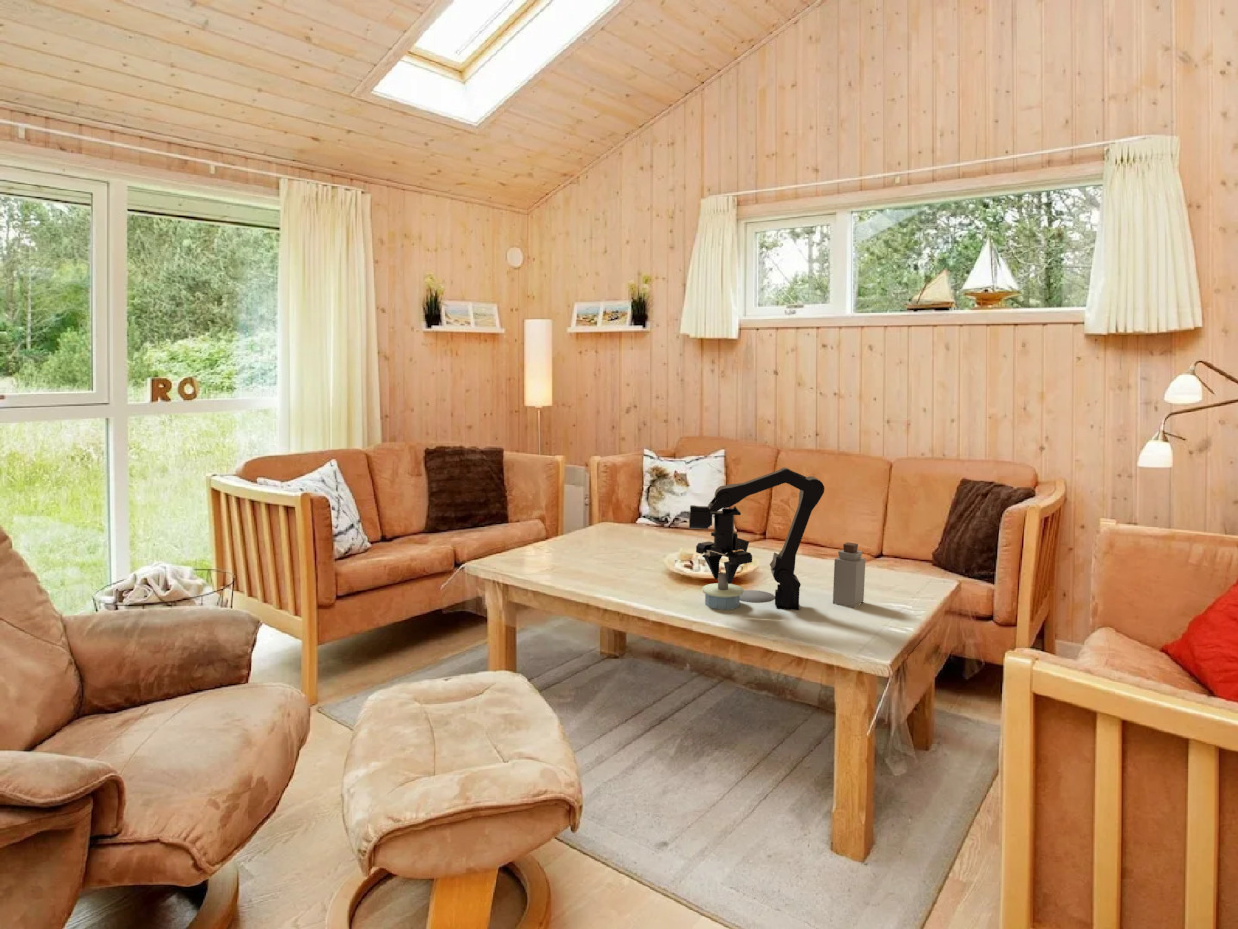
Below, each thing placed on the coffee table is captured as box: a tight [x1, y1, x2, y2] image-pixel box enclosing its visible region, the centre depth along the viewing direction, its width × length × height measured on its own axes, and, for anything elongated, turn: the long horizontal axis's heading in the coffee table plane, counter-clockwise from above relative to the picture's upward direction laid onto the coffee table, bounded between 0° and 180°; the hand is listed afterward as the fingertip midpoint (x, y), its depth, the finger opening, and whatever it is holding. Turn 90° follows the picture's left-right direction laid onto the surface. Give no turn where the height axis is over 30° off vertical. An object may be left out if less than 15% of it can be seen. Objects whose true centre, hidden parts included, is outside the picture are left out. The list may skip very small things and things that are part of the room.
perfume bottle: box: [832, 542, 866, 608], centre depth 230 cm, size 7×7×18 cm
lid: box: [702, 572, 744, 597], centre depth 227 cm, size 12×12×5 cm
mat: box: [740, 589, 775, 604], centre depth 236 cm, size 13×13×1 cm
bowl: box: [704, 593, 741, 610], centre depth 228 cm, size 10×10×4 cm
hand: (722, 581), depth 227 cm, fingers open, 6 cm apart
